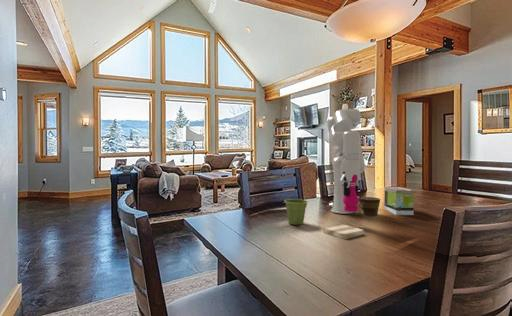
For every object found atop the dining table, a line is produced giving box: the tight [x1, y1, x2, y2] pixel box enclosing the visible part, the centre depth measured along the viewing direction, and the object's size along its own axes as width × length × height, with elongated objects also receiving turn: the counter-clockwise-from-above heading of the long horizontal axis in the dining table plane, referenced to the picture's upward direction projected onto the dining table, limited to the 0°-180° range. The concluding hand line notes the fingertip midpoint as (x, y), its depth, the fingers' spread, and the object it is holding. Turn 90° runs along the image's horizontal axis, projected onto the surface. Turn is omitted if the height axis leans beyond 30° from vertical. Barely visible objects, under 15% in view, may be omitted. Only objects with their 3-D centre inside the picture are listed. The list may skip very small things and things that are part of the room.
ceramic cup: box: [357, 196, 381, 217], centre depth 155 cm, size 13×10×10 cm
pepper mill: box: [343, 174, 360, 212], centre depth 136 cm, size 7×7×20 cm
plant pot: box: [284, 198, 309, 226], centre depth 141 cm, size 12×12×11 cm
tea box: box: [384, 186, 415, 216], centre depth 161 cm, size 15×10×15 cm
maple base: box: [322, 223, 365, 240], centre depth 123 cm, size 12×12×2 cm
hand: (350, 194), depth 136 cm, fingers closed on pepper mill, 5 cm apart
